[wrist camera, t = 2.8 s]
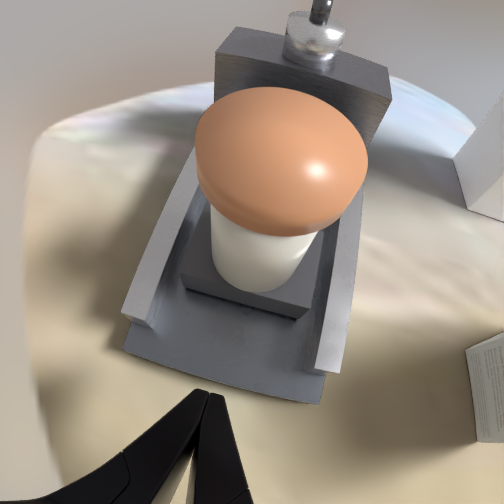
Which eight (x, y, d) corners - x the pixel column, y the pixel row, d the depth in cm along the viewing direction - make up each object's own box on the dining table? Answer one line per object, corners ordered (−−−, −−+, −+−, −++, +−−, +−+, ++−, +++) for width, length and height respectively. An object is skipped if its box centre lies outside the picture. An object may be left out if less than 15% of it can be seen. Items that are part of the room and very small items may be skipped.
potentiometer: (334, 75, 15) (353, 14, 11) (276, 59, 15) (288, -3, 11) (337, 52, 16) (354, -1, 13) (287, 38, 16) (298, -16, 13)
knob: (297, 326, 15) (385, 243, 7) (180, 293, 16) (143, 177, 7) (314, 243, 18) (384, 119, 9) (209, 214, 18) (209, 71, 9)
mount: (310, 404, 15) (381, 408, 8) (130, 353, 16) (65, 319, 8) (351, 138, 24) (386, 61, 17) (232, 106, 24) (240, 21, 17)
